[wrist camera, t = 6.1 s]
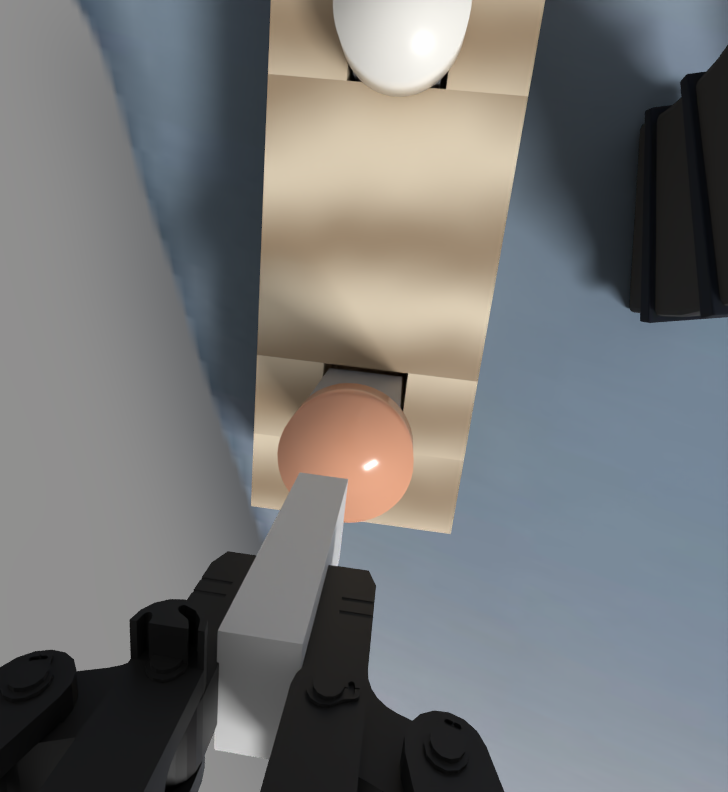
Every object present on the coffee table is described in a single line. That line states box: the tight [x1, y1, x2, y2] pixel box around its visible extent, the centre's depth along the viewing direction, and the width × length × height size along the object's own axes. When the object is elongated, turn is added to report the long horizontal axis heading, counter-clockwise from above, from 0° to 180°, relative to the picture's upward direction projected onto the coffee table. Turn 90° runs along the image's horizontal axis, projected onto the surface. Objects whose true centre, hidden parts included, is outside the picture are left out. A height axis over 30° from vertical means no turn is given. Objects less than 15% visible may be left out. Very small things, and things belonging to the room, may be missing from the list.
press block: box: [251, 0, 545, 534], centre depth 27 cm, size 32×12×7 cm, turn 174°
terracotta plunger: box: [277, 368, 414, 523], centre depth 23 cm, size 6×6×8 cm
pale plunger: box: [333, 0, 472, 97], centre depth 23 cm, size 6×6×8 cm
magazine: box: [629, 45, 728, 323], centre depth 23 cm, size 4×13×15 cm, turn 5°
